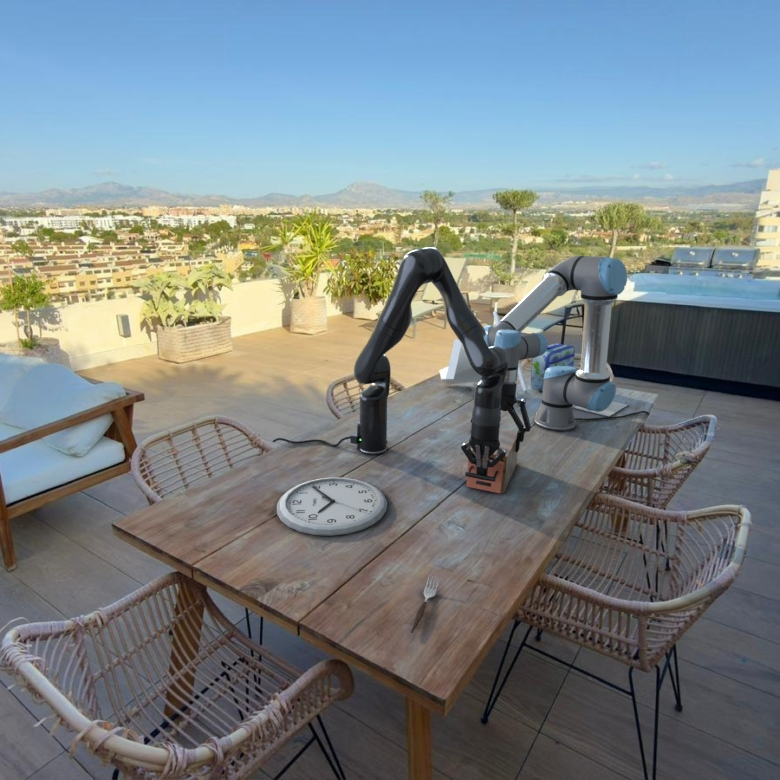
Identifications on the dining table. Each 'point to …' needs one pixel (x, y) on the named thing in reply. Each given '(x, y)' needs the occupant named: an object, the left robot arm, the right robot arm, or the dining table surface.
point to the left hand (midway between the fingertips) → (481, 478)
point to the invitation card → (607, 409)
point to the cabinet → (507, 454)
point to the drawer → (485, 477)
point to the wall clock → (331, 506)
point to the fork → (428, 594)
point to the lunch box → (550, 362)
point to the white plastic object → (469, 367)
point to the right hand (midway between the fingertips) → (498, 447)
